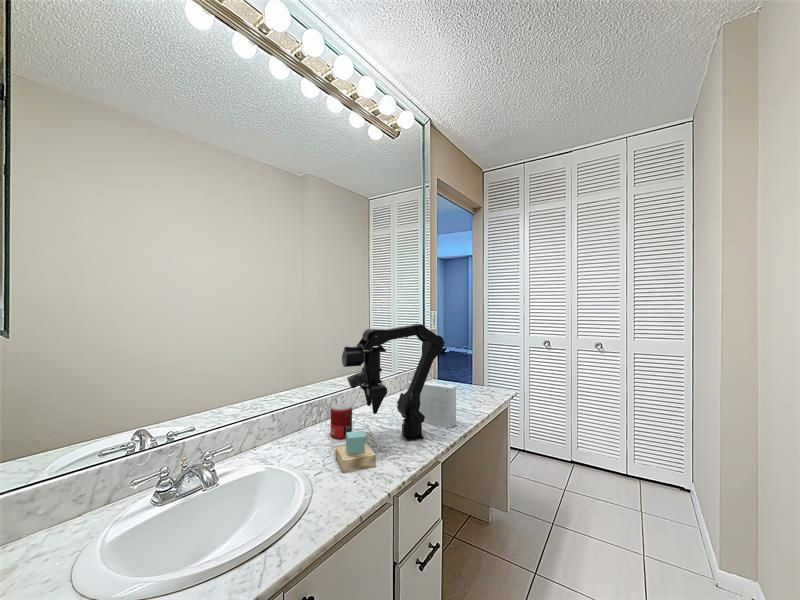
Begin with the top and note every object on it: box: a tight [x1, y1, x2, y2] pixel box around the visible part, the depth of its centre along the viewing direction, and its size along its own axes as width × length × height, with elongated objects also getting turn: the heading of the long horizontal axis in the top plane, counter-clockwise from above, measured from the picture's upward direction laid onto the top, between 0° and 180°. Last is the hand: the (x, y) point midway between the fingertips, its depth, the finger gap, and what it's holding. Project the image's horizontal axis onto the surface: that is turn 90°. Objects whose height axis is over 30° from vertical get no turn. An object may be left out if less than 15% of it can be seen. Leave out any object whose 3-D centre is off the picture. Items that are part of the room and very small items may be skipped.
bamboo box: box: [334, 441, 377, 474], centre depth 103 cm, size 10×10×4 cm
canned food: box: [330, 402, 353, 440], centre depth 125 cm, size 8×8×11 cm
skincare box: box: [406, 380, 457, 429], centre depth 141 cm, size 21×5×16 cm, turn 58°
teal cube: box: [345, 430, 366, 455], centre depth 103 cm, size 5×5×5 cm
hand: (371, 409), depth 117 cm, fingers open, 9 cm apart
